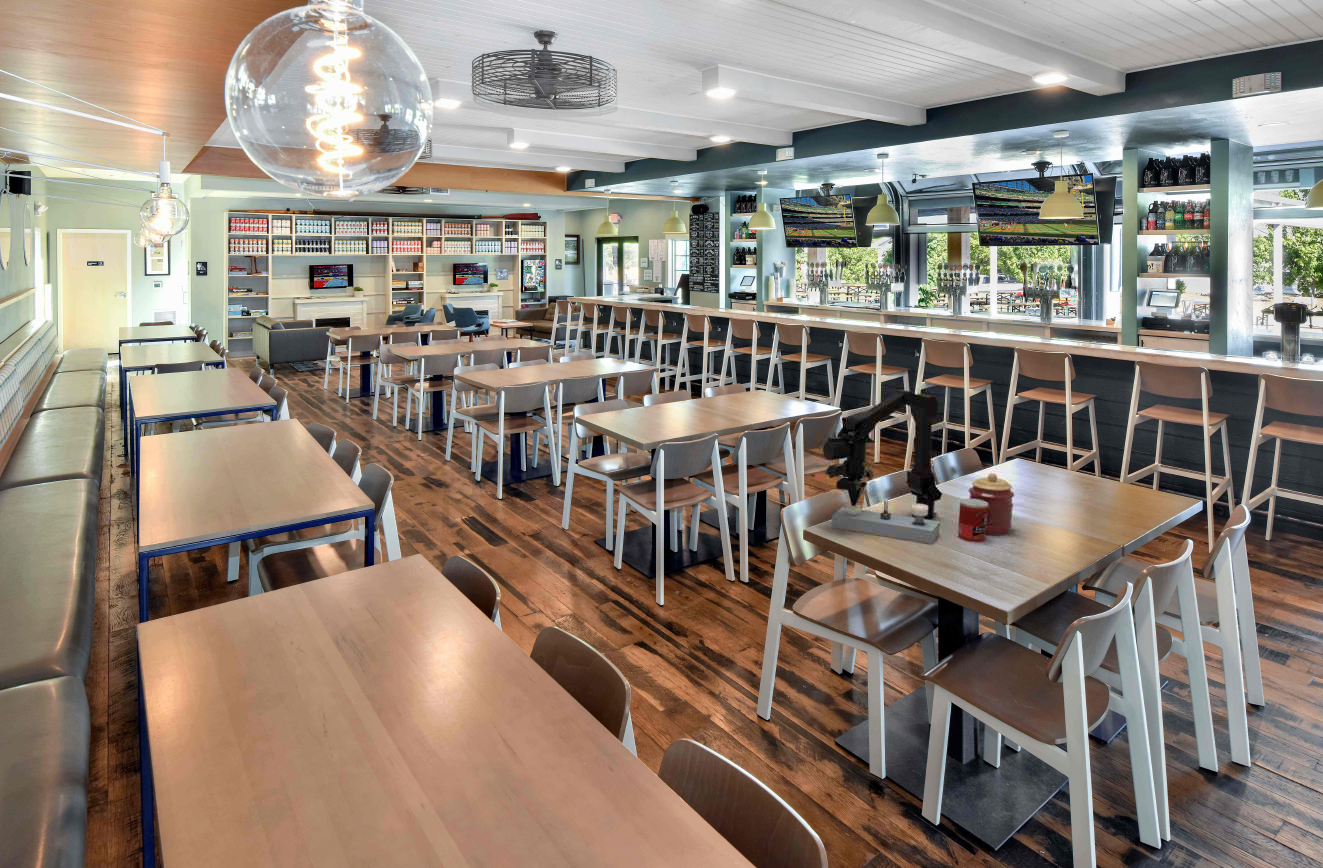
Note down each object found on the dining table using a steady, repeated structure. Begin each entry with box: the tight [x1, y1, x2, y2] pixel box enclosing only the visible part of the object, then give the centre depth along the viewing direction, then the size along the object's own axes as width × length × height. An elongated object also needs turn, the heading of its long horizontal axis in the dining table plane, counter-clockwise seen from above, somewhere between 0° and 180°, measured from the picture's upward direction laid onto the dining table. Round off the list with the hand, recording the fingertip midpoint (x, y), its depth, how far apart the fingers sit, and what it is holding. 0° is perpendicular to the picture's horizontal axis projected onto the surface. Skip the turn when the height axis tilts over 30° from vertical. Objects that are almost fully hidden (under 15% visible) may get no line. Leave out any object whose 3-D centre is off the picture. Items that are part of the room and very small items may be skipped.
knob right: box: [911, 503, 928, 524], centre depth 234 cm, size 5×5×5 cm
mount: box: [831, 506, 941, 545], centre depth 240 cm, size 10×30×4 cm, turn 59°
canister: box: [968, 472, 1015, 536], centre depth 240 cm, size 13×13×18 cm
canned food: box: [957, 498, 988, 543], centre depth 233 cm, size 8×8×11 cm
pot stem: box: [880, 500, 891, 520], centre depth 239 cm, size 3×3×6 cm
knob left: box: [845, 503, 862, 516], centre depth 245 cm, size 5×5×5 cm
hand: (853, 505), depth 244 cm, fingers closed, pressing on knob left
